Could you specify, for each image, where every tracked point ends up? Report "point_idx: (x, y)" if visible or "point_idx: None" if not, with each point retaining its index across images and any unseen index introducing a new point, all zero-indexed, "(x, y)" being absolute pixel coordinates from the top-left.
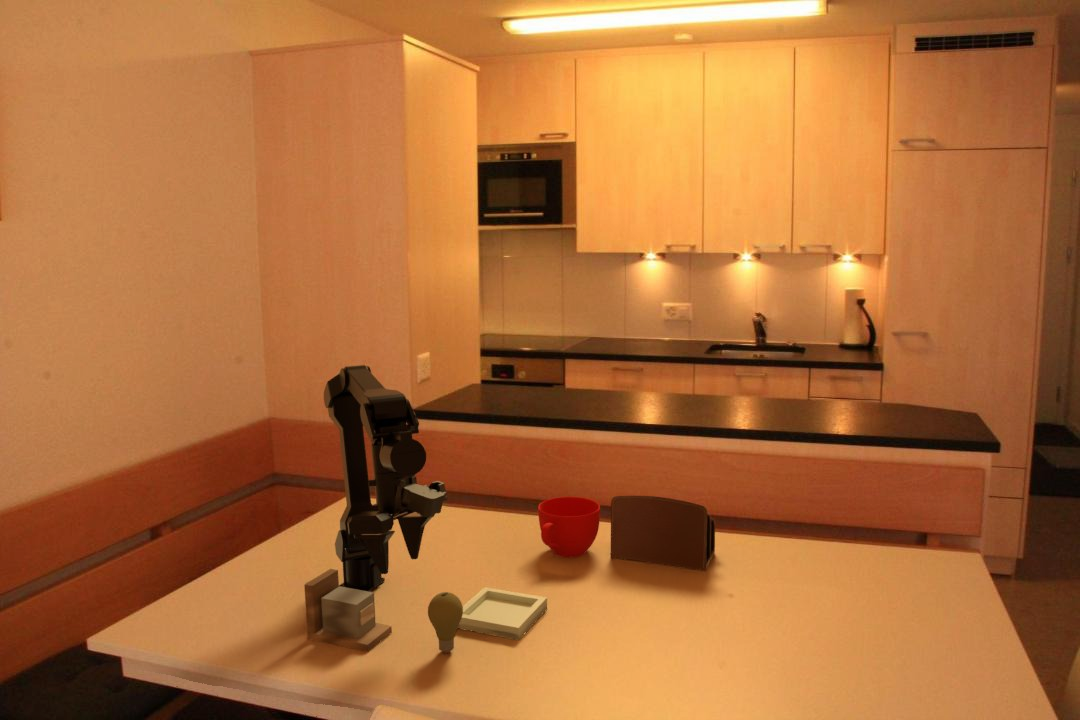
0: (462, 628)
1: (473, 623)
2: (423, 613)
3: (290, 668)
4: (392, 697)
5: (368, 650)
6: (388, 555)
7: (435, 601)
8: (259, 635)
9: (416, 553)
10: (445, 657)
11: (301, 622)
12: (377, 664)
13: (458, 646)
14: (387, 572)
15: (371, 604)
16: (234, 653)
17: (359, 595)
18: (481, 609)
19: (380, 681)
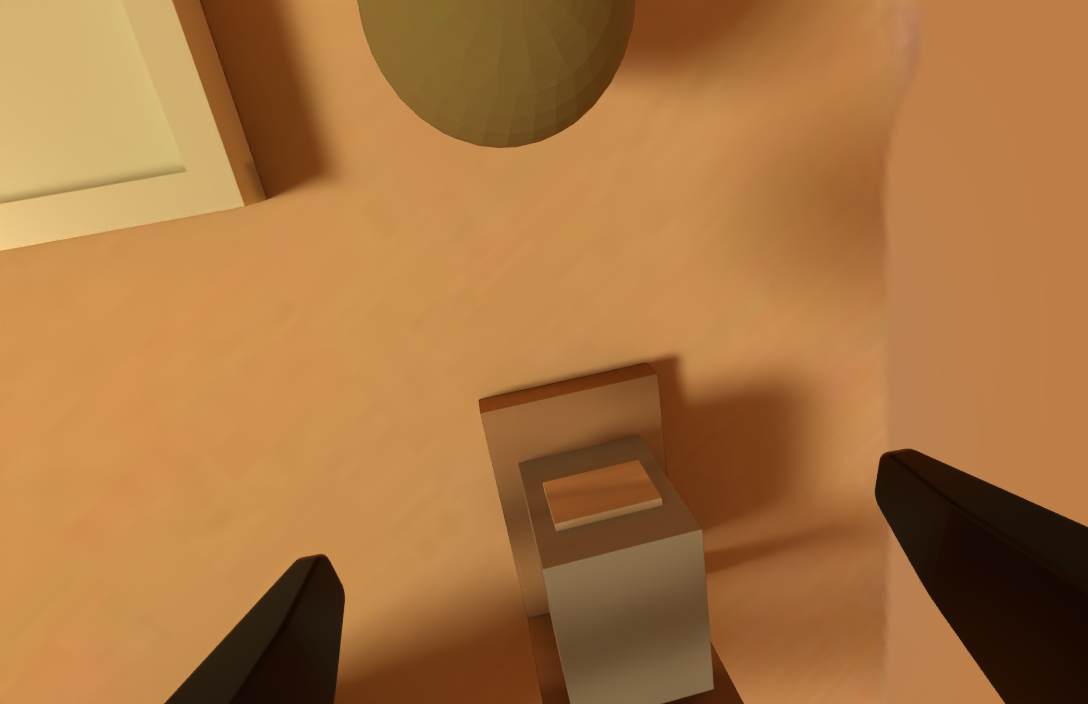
0: (244, 137)
1: (202, 57)
2: (254, 417)
3: (838, 482)
4: (887, 19)
5: (645, 364)
6: (1081, 577)
7: (611, 9)
8: None
9: (304, 598)
10: None
11: None
12: (706, 261)
13: None
14: (900, 453)
15: (574, 518)
16: (823, 659)
17: (608, 595)
18: (9, 155)
19: (805, 155)
